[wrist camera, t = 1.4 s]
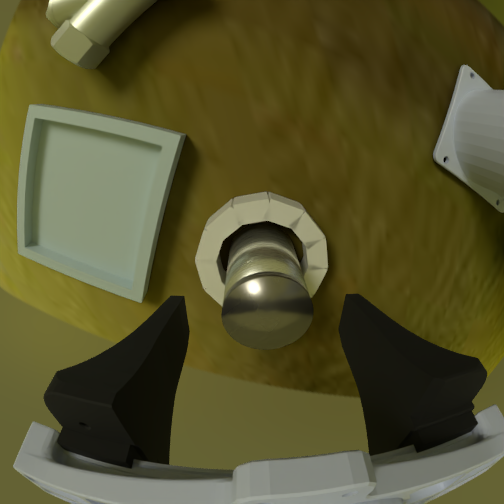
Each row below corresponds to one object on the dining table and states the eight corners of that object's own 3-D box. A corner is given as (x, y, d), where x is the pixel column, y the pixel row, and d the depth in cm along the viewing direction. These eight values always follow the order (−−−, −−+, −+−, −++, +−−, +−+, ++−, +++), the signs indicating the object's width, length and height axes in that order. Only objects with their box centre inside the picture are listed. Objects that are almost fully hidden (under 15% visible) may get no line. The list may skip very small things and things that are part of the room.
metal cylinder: (303, 234, 18) (329, 292, 12) (279, 287, 19) (290, 356, 14) (241, 213, 17) (238, 265, 11) (221, 269, 19) (211, 337, 13)
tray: (186, 134, 15) (180, 135, 14) (147, 291, 19) (141, 303, 18) (41, 104, 13) (29, 104, 12) (28, 245, 18) (18, 253, 16)
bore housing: (340, 218, 17) (348, 227, 16) (292, 314, 20) (295, 328, 19) (222, 176, 16) (219, 181, 15) (188, 284, 19) (184, 297, 18)
